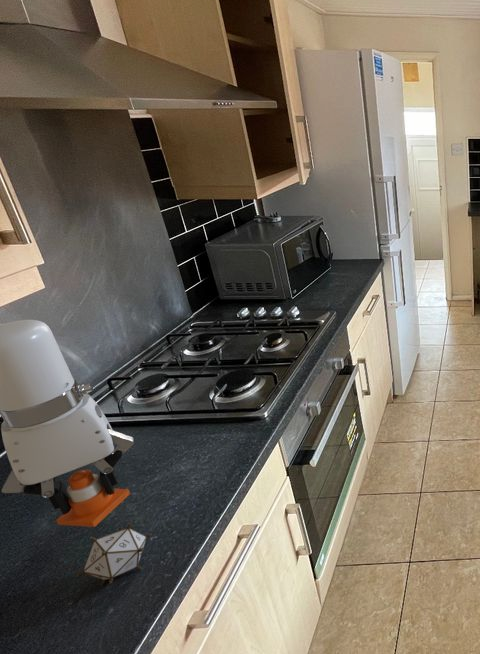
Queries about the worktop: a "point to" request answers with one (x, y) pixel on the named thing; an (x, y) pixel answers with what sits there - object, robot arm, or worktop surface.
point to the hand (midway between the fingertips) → (89, 497)
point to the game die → (115, 554)
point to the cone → (89, 500)
